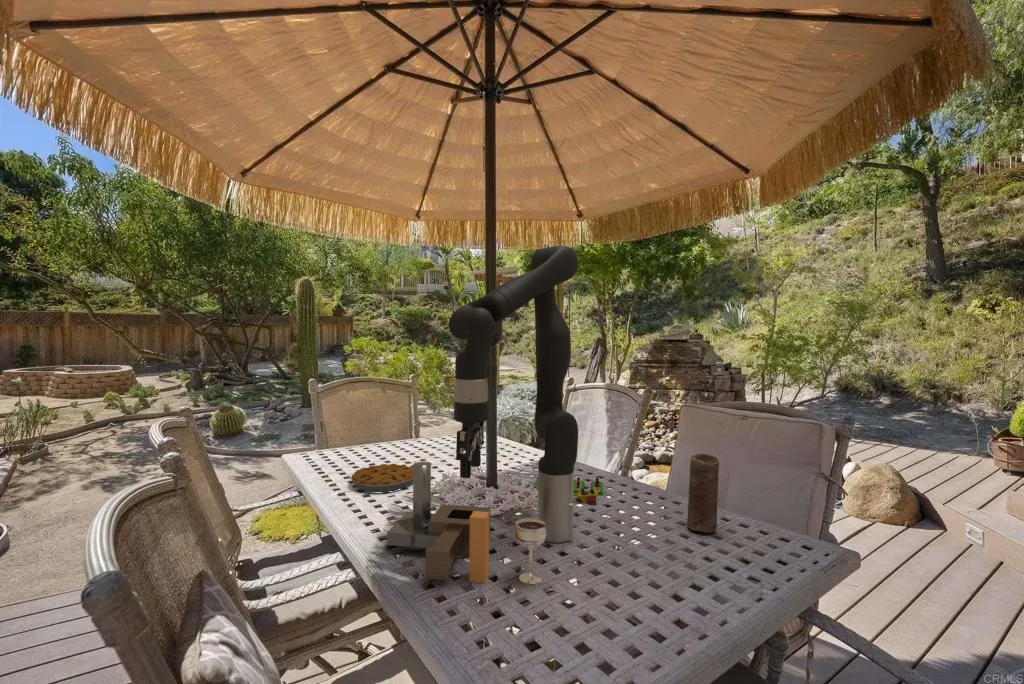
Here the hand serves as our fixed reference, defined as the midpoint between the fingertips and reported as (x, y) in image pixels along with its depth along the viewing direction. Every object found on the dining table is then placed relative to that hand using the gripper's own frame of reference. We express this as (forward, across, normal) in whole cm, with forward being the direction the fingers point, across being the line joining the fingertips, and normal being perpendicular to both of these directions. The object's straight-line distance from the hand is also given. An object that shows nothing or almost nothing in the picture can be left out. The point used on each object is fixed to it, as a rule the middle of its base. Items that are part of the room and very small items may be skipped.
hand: (470, 471), depth 105 cm
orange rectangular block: (+23, -2, -2) cm, 23 cm away
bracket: (+23, +5, +6) cm, 24 cm away
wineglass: (+23, 0, -14) cm, 26 cm away
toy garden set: (+23, +56, -18) cm, 63 cm away
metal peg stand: (+23, +12, +16) cm, 30 cm away
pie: (+23, +52, +45) cm, 72 cm away
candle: (+23, +33, -56) cm, 69 cm away
